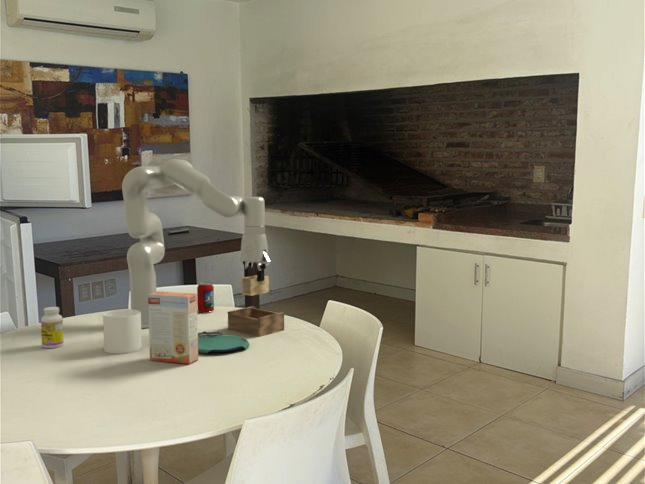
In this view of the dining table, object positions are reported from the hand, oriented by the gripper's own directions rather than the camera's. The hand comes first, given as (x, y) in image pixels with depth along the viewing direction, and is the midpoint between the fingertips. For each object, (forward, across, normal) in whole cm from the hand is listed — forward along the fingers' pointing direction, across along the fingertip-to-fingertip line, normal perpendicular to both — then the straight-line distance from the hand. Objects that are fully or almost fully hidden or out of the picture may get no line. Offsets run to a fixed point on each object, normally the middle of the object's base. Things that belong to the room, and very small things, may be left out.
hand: (255, 279), depth 228 cm
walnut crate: (+19, 0, 0) cm, 19 cm away
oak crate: (+5, 0, 0) cm, 5 cm away
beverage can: (+19, -38, +8) cm, 43 cm away
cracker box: (+19, +8, -43) cm, 48 cm away
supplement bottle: (+19, -36, -59) cm, 72 cm away
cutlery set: (+19, +2, -22) cm, 30 cm away
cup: (+19, -15, -46) cm, 52 cm away
